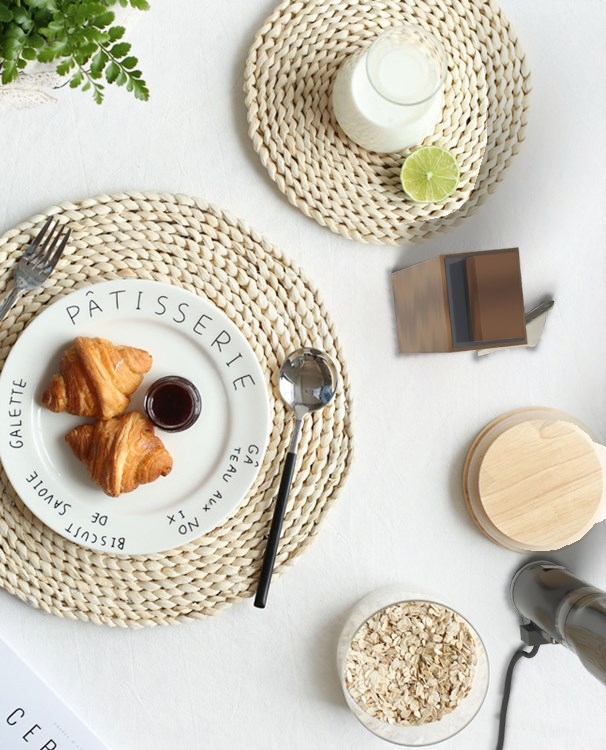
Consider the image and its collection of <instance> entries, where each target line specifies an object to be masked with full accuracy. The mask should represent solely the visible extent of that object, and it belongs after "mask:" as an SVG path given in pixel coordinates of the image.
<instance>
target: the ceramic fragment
mask: <svg viewBox="0 0 606 750" xmlns="http://www.w3.org/2000/svg"><path fill="white" fill-rule="evenodd" d="M554 305H555V300H553V299H546V300H545V301H544V302H542V303H541V304H539V305H538V306H537V307H535V308H533V309H532V310H531V311H529V312H528V313H525V321H526V331H527V342H528V344H527V345H518V346H509V347H499V348H490V349H480V350H475V351H476V355H477V357H481V356H484V355H488V354H491V353H495V352H499V351H502V350H507V349H514V348H520V347H521V348H522V347H527V348H536V346H537V345H538V342H539V340H540V339H541V337H542V334H543V331H544V328H545V324H546V319H547V315H548V314H549V312H550V311H551V310H552V309H553V308H554Z"/></svg>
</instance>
